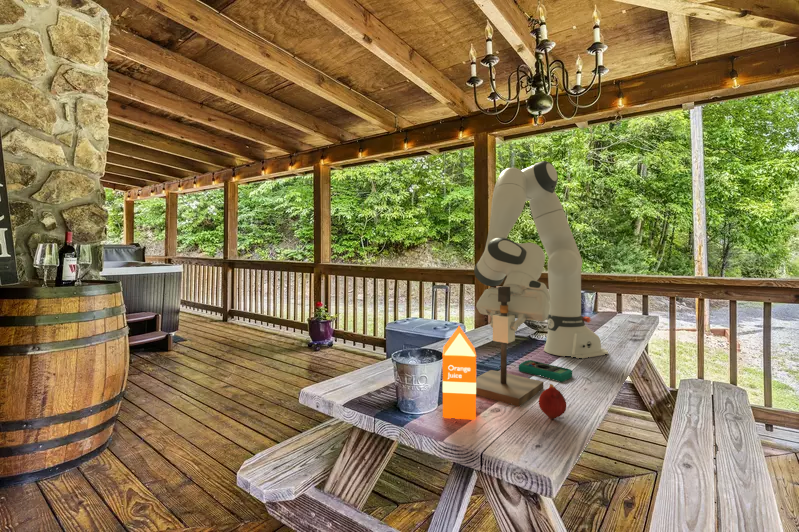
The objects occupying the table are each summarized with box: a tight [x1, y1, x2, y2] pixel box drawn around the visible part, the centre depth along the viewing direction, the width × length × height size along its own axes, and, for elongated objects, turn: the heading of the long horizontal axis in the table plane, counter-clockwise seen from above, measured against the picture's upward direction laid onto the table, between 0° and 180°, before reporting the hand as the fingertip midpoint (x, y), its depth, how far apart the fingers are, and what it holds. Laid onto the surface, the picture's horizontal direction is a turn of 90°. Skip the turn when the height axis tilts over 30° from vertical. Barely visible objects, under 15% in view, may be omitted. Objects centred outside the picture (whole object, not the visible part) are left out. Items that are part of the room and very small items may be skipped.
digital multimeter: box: [518, 359, 573, 383], centre depth 118 cm, size 7×15×3 cm, turn 41°
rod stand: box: [476, 285, 544, 408], centre depth 104 cm, size 16×16×28 cm
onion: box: [538, 383, 567, 420], centre depth 86 cm, size 6×6×8 cm
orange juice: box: [442, 325, 477, 421], centre depth 90 cm, size 8×9×20 cm
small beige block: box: [492, 313, 516, 344], centre depth 103 cm, size 4×4×7 cm
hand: (503, 327), depth 103 cm, fingers closed on small beige block, 4 cm apart
